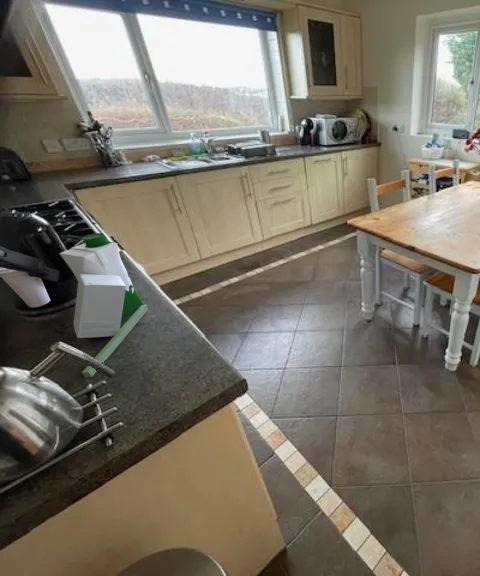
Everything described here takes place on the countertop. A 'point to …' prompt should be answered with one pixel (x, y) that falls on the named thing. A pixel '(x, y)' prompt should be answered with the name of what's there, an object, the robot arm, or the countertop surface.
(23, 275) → the smoothie
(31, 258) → the robot arm
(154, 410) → the countertop surface
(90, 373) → the straightedge
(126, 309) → the soya milk
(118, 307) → the white packaging box
